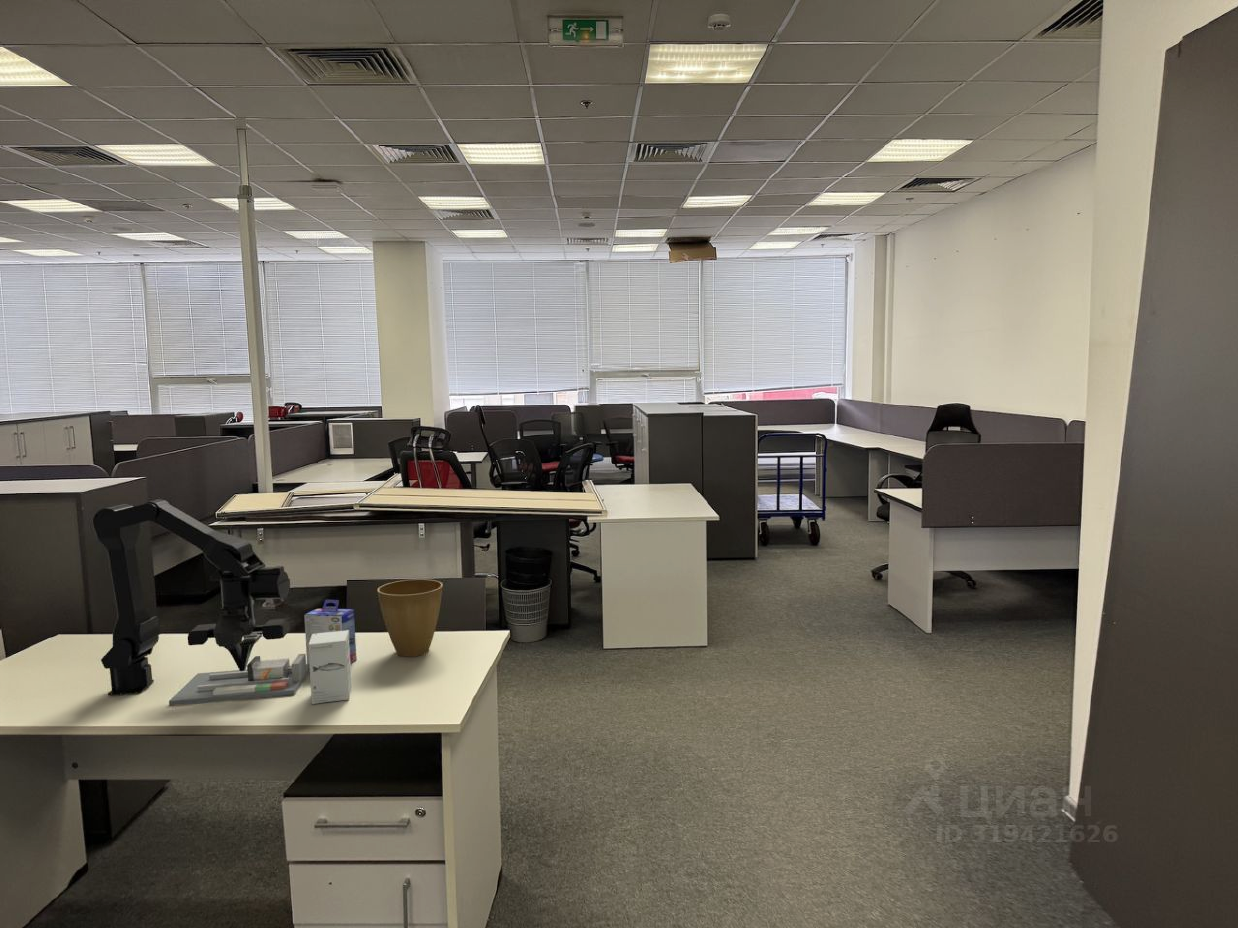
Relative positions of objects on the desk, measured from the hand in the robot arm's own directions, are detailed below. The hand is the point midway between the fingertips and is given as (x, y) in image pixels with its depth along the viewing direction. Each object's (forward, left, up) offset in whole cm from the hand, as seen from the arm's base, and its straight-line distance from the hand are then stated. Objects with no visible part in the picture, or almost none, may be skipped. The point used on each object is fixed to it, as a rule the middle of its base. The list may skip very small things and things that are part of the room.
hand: (242, 670), depth 159 cm
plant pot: (+34, +13, -4) cm, 37 cm away
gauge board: (0, 0, -3) cm, 3 cm away
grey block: (+5, -2, -2) cm, 6 cm away
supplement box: (+20, -10, -4) cm, 23 cm away
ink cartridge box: (+16, +10, -4) cm, 19 cm away
